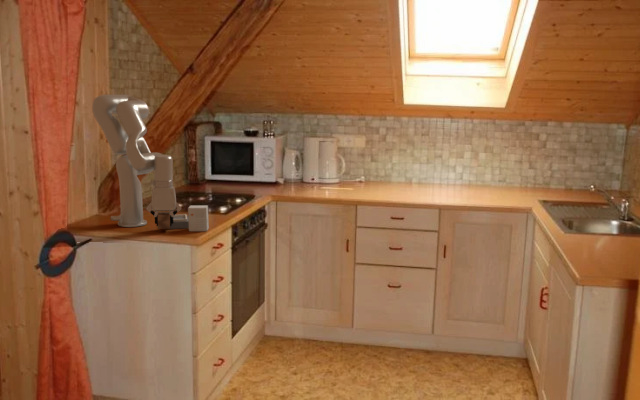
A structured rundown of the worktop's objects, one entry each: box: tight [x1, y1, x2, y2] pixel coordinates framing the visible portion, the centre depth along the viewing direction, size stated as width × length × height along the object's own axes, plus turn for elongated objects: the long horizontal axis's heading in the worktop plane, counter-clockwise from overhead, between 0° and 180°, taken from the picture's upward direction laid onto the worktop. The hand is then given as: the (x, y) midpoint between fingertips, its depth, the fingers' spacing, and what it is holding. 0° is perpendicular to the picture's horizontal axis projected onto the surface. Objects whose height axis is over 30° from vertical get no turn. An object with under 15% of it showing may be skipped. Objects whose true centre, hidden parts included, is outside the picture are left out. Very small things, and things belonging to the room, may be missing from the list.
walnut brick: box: [157, 211, 171, 230], centre depth 265 cm, size 5×7×6 cm
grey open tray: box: [169, 213, 189, 230], centre depth 275 cm, size 10×12×4 cm
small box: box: [187, 204, 210, 232], centre depth 267 cm, size 8×6×10 cm
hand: (164, 224), depth 265 cm, fingers closed on walnut brick, 5 cm apart
